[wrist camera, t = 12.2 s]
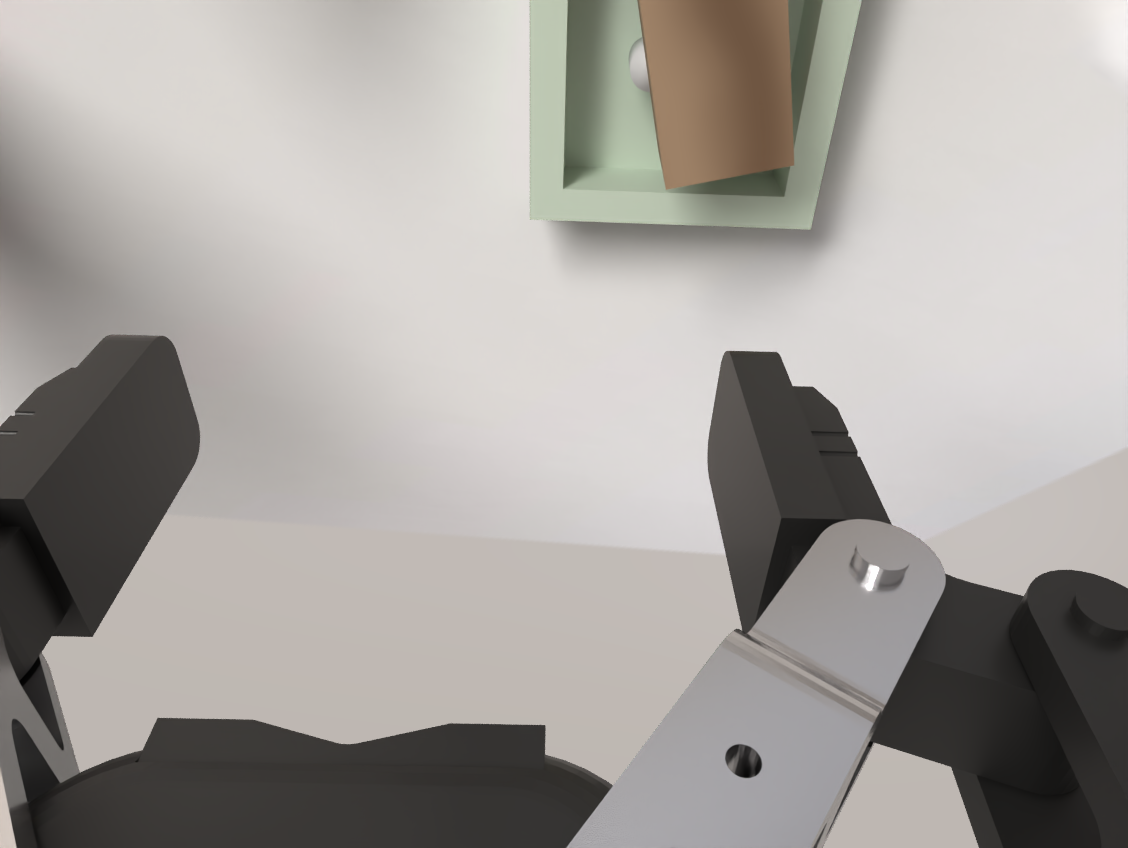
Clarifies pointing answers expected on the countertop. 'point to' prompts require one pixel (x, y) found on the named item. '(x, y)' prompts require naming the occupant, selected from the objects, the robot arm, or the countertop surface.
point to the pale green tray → (627, 131)
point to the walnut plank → (719, 87)
